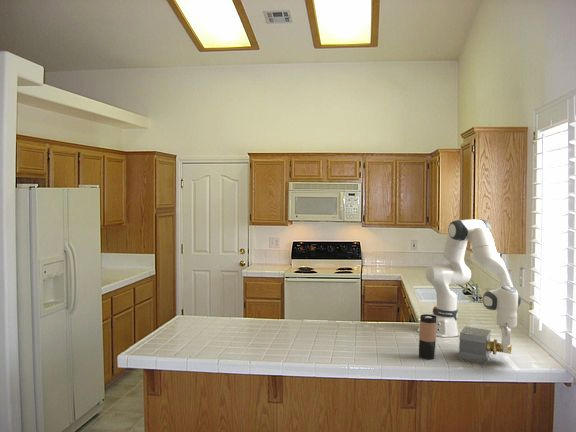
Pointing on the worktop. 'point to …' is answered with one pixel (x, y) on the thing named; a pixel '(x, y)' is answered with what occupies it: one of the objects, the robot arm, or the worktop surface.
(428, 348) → the travel mug
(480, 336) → the housing
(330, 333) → the worktop surface
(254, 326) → the worktop surface
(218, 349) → the worktop surface
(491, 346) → the brass collar peg
